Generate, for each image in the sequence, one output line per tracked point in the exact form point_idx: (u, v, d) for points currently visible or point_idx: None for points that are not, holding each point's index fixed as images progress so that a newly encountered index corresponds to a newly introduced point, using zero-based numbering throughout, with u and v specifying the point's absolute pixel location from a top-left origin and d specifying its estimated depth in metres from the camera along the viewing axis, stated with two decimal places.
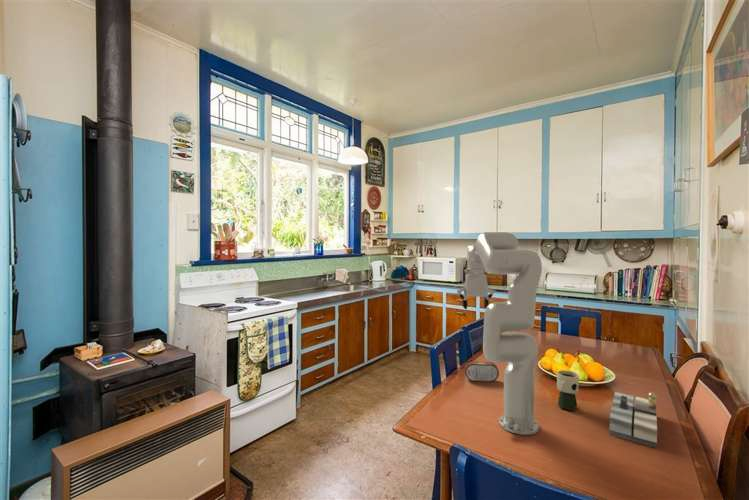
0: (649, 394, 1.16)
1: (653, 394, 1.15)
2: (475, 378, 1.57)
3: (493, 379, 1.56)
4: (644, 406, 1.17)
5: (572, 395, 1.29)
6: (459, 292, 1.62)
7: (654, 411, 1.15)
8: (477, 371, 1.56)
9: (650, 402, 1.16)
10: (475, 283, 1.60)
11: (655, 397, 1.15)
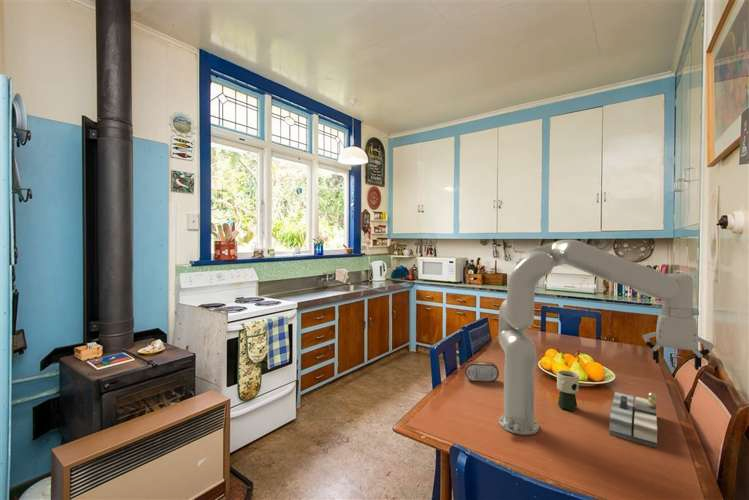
0: (649, 394, 1.16)
1: (653, 394, 1.15)
2: (475, 378, 1.57)
3: (493, 379, 1.56)
4: (644, 406, 1.17)
5: (572, 395, 1.29)
6: None
7: (654, 411, 1.15)
8: (477, 371, 1.56)
9: (650, 402, 1.16)
10: None
11: (655, 397, 1.15)
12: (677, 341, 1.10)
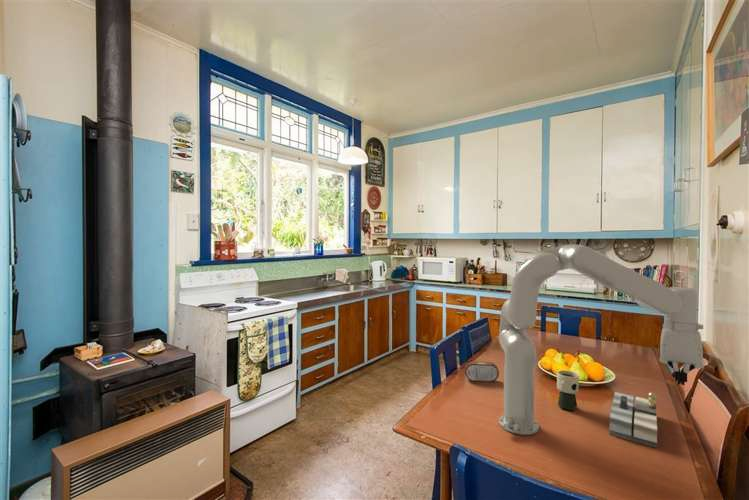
0: (649, 394, 1.16)
1: (653, 394, 1.15)
2: (475, 378, 1.57)
3: (493, 379, 1.56)
4: (644, 406, 1.17)
5: (572, 395, 1.29)
6: None
7: (654, 411, 1.15)
8: (477, 371, 1.56)
9: (650, 402, 1.16)
10: None
11: (655, 397, 1.15)
12: (681, 355, 1.10)
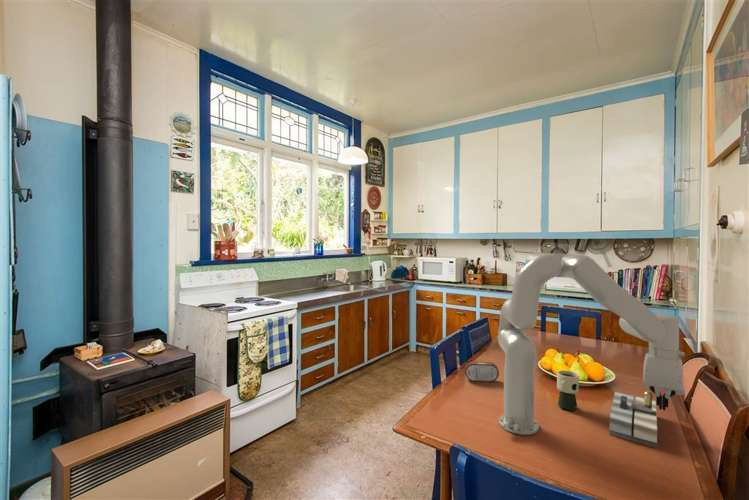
0: (645, 393, 1.17)
1: (649, 393, 1.16)
2: (475, 378, 1.57)
3: (493, 379, 1.56)
4: (640, 405, 1.18)
5: (572, 395, 1.29)
6: None
7: (650, 410, 1.16)
8: (477, 371, 1.56)
9: (646, 401, 1.17)
10: None
11: (651, 396, 1.16)
12: (663, 381, 1.13)
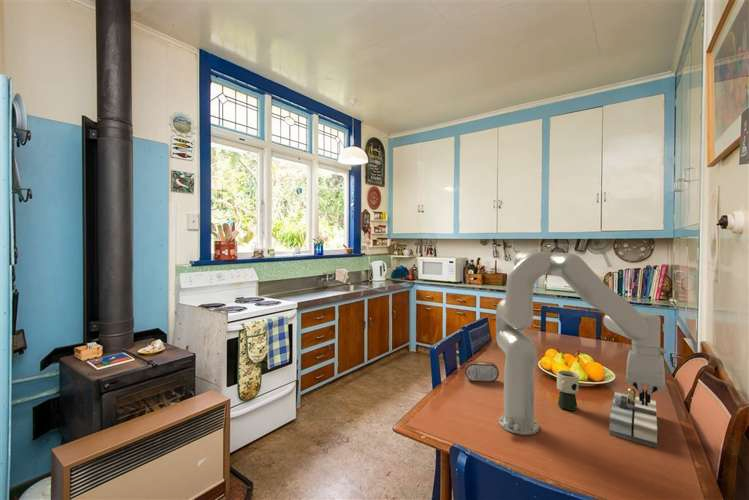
0: (628, 390, 1.20)
1: (632, 390, 1.19)
2: (475, 378, 1.57)
3: (493, 379, 1.56)
4: None
5: (572, 395, 1.29)
6: None
7: (633, 406, 1.19)
8: (477, 371, 1.56)
9: (629, 397, 1.19)
10: None
11: (634, 392, 1.18)
12: (645, 378, 1.15)
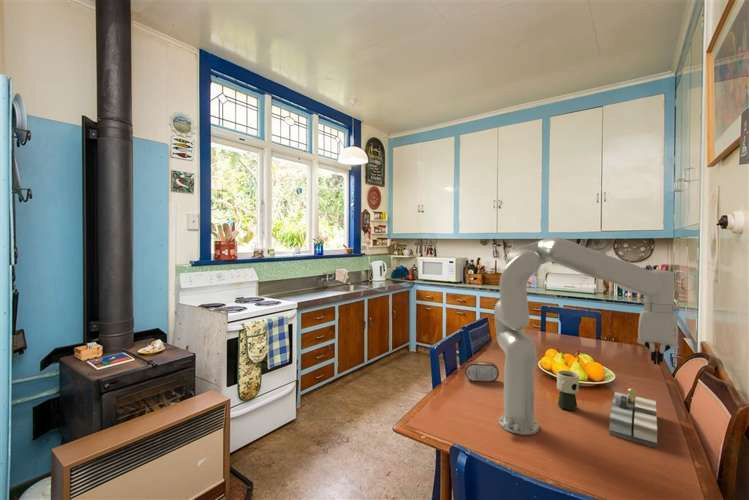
0: (628, 390, 1.20)
1: (632, 390, 1.19)
2: (475, 378, 1.57)
3: (493, 379, 1.56)
4: None
5: (572, 395, 1.29)
6: None
7: (633, 406, 1.19)
8: (477, 371, 1.56)
9: (629, 397, 1.19)
10: None
11: (634, 393, 1.18)
12: (658, 336, 1.13)
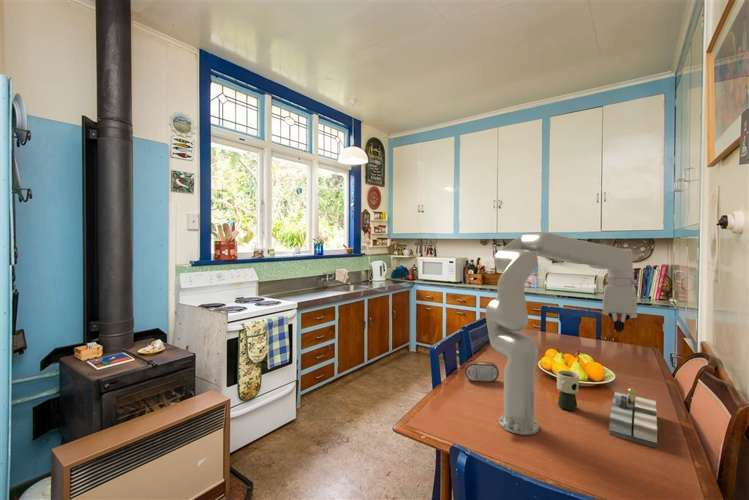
0: (628, 390, 1.20)
1: (632, 390, 1.19)
2: (475, 378, 1.57)
3: (493, 379, 1.56)
4: None
5: (572, 395, 1.29)
6: None
7: (633, 406, 1.19)
8: (477, 371, 1.56)
9: (629, 397, 1.19)
10: None
11: (634, 393, 1.18)
12: (619, 307, 1.27)
